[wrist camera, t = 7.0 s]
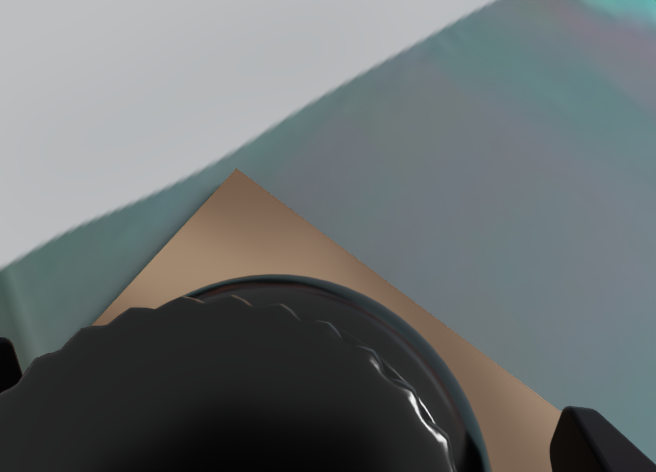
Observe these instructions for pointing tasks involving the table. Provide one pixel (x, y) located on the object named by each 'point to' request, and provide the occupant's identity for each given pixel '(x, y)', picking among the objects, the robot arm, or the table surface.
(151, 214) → the table surface
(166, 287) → the board
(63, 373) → the supplement bottle
